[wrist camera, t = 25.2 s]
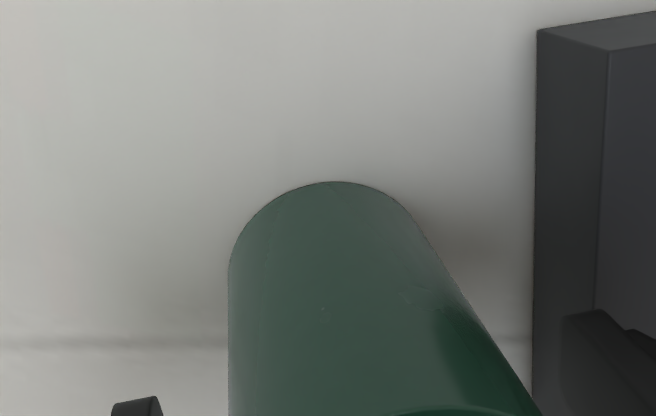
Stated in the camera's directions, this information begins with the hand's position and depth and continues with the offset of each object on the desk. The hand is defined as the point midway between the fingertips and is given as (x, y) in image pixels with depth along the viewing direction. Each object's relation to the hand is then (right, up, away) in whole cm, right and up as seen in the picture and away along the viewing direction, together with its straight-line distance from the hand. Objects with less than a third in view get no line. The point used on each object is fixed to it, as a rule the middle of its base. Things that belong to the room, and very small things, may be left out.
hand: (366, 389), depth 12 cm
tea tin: (-1, +2, +4) cm, 4 cm away
